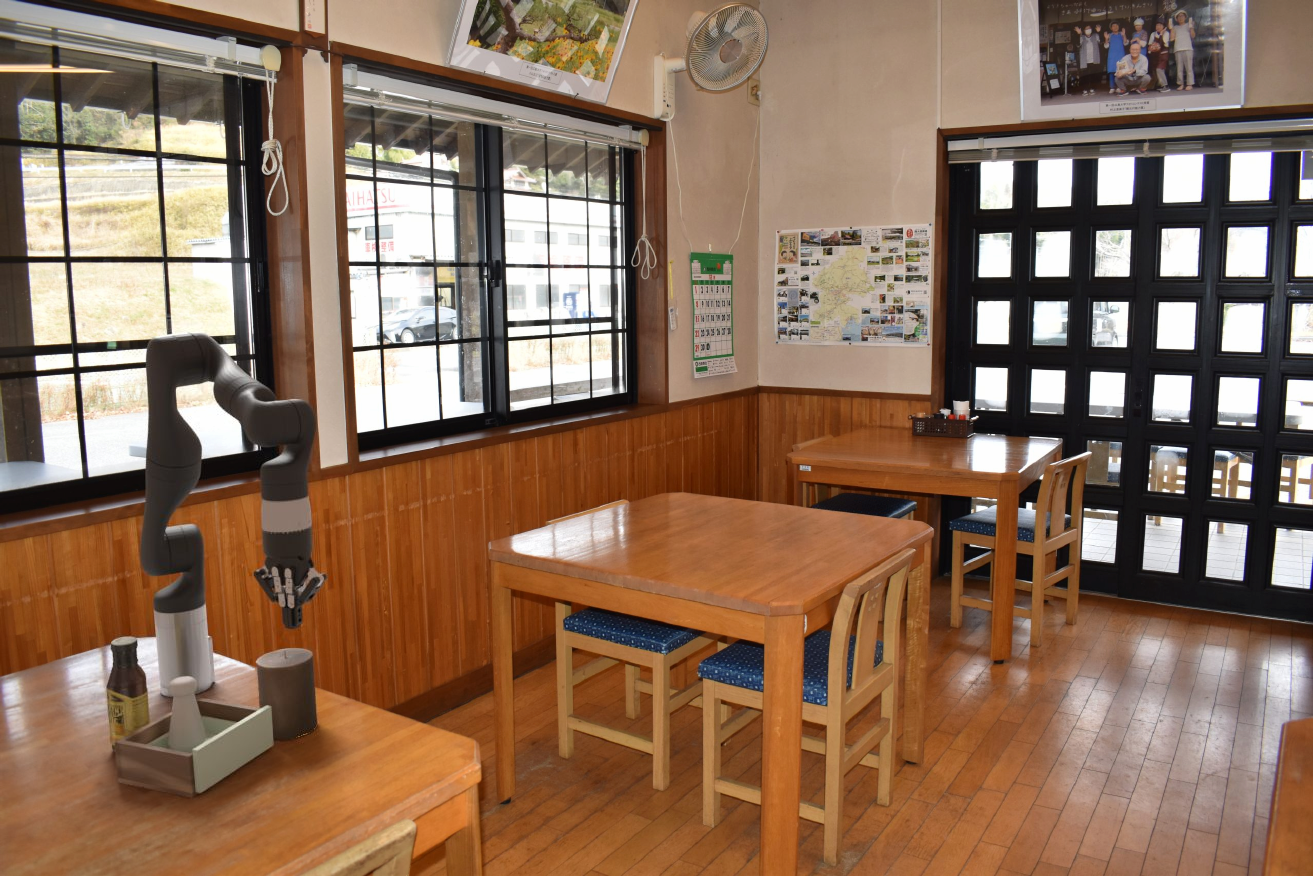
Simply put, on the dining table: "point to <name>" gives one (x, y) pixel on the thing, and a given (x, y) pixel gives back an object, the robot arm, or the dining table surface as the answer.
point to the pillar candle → (288, 691)
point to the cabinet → (167, 752)
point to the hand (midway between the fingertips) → (292, 627)
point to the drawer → (227, 746)
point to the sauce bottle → (126, 691)
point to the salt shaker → (185, 716)
